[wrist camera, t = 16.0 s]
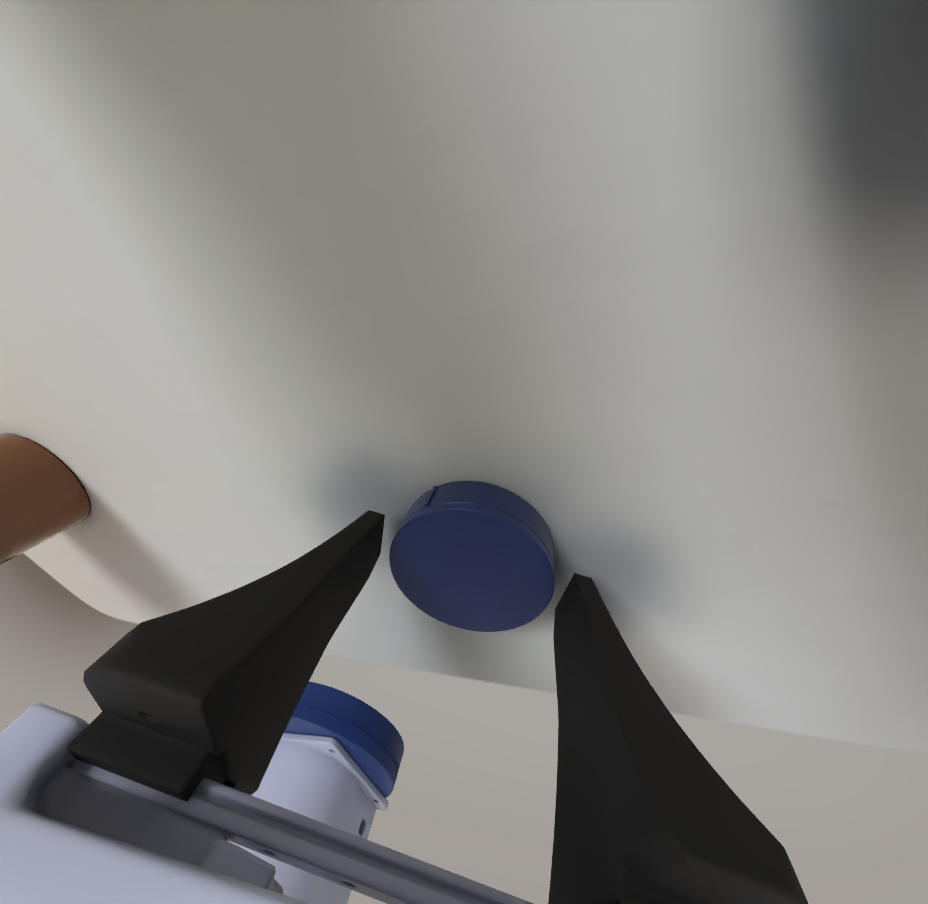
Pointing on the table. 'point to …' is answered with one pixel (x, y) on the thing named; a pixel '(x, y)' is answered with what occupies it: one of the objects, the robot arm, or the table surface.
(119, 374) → the table surface
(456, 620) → the lid
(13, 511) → the jar
